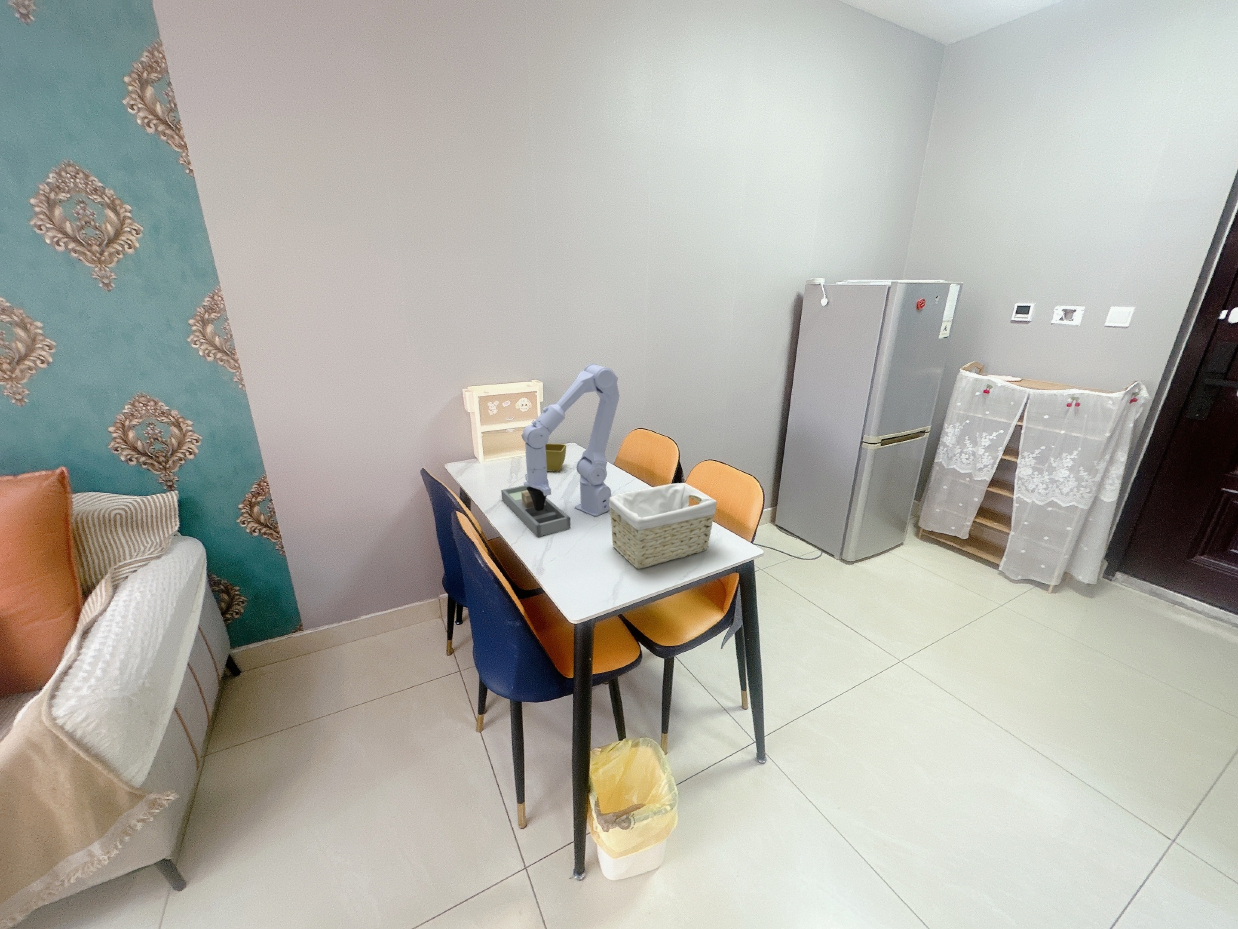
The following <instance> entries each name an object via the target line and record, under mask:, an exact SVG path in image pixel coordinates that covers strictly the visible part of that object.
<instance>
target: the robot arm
mask: <svg viewBox="0 0 1238 929" xmlns="http://www.w3.org/2000/svg"><path fill="white" fill-rule="evenodd" d="M618 380H619V378H618V376H617V374H616V373H615V371H614V370H613V369H612V368H610V367H607V366H601V365H598V364H597V363H590V364H587V365H586V366H585V367H584V369H583V370H581V371H580V372H579V373H578V375H577V378H576V379H575V380H574V381H573V383H572V384H570V386H569V387H568V389H567V390H566V391H565V393H563V395H562V396H561V397H560V399H559V400H558V401H557V402H556V403H554V404H548V406H544V407H543V408H542V412H541V413H540V415H539V416H538V417H537V418H536V419H535V420H532V421H531V424H530V425H529V424H528V425H526V426H525V428H524V429H523V430H522V434H521V439H522V440H523V442H524V443H525V445H524V446H525V464H526V473H525V474H524V476H525V480H526V481H524V482H523V485H525V486H526V487H527V490H528V492H529V494H530V496H531V498H532V501H533V504H534V507H535V510H536V511H541V510H543V509H544V504H545V500H546V498H547V497H548V496H551V495H552V489H551V487H550V482H549V479H548V471H547V462H546V448H545V445H546V444H549V443H548V442H549V438H550V435H551V434H552V433H553V432H554V431H555V430H556V429H557V428H558V427H559V426H560V424H561V423H562V422H563V421H564V420H565V418H566V417H565V416H566V414H565V413H566V412H567V411H568V410H569V409H570V408H571V407H572V406H573V405H574V404H575V403H576V402H577V401H578V400H579V399H580V398H581V397H582V396H584V394H587V393H591V392H595V393H596V394H597V396H598V398H599V403H598V406H597V409H596V410H597V411H596V414H595V417H594V421H593V425H592V429H591V433H590V438H589V441H588V445H587V448H586V449H585V450H584V451H583V452H582V454H581V457H580V458H579V460H578V461H577V463H576V467H575V468H576V472H577V473H578V474H579V476H580V478H579V493H580V494H579V495H580V503H579V504H576V505H575V506H574V509H577V510H579V511H581V512H584V513H586V514H588V515H591V516H593V517H597V516H599V515H602V514H604V513H606V512H608V511H609V512H610V506H609V498H610V497H611V496H612V490H611V488H610V487H609V486H608V485H607V484H606V483H605V480H606V478H607V475H608V471H607V465H608V461H607V458H606V451H607V445H608V443H609V442H608V441H609V439H610V434H611V431H612V427H613V423H614V420H615V419H614V418H615V416H616V411H617V407H618V404H619V400H620V393H619V392H620V391H619V388H618ZM528 486H530V487H528Z"/></svg>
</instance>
